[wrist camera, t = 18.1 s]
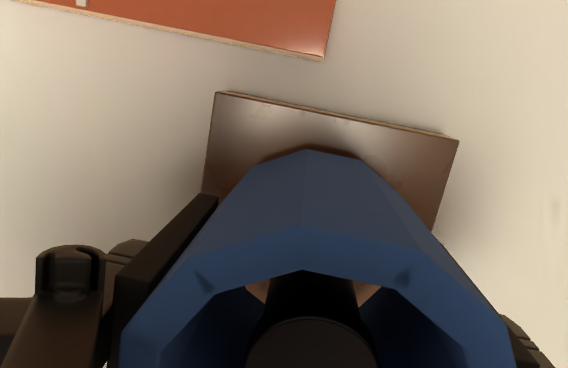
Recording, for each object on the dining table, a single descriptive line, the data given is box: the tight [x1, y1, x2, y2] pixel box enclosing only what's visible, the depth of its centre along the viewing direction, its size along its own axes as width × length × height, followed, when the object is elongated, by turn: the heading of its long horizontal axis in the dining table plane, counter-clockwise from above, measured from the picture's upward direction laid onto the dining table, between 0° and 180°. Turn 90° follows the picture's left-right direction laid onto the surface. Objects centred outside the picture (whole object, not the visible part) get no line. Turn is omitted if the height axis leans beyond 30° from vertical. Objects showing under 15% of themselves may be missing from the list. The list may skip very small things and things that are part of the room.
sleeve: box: [118, 149, 517, 368], centre depth 11 cm, size 8×8×8 cm
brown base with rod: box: [201, 91, 459, 368], centre depth 14 cm, size 10×10×11 cm
